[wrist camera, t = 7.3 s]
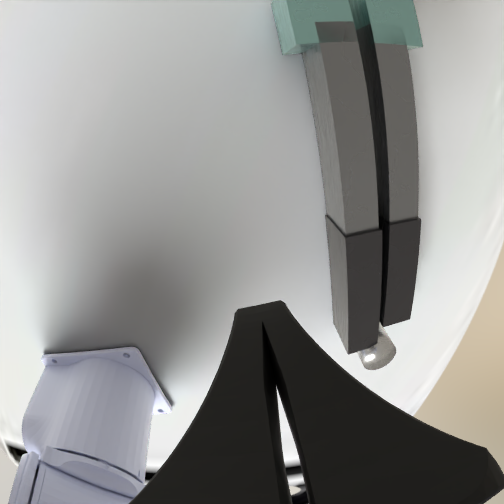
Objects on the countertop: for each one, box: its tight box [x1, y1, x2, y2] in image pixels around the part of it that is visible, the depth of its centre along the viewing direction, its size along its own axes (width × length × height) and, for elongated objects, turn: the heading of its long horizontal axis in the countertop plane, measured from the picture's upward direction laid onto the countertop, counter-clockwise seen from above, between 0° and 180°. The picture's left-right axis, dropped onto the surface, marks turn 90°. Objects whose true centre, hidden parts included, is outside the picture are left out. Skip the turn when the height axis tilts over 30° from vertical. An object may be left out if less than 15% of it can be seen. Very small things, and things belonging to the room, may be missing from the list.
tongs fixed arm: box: [348, 0, 423, 327], centre depth 15 cm, size 19×3×3 cm, turn 10°
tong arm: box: [271, 0, 396, 370], centre depth 15 cm, size 22×4×3 cm, turn 11°
